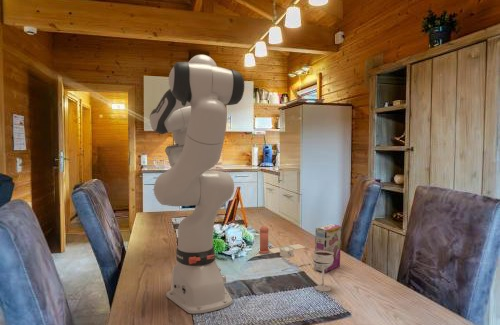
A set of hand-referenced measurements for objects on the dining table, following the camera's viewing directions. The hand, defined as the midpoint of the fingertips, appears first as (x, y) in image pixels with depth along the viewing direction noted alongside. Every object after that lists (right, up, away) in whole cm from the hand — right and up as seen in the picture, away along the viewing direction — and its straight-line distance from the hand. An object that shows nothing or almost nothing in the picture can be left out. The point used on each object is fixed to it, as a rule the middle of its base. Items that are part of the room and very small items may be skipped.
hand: (198, 172), depth 137 cm
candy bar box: (+51, -37, -8) cm, 64 cm away
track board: (+32, -36, +11) cm, 50 cm away
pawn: (+27, -35, +8) cm, 45 cm away
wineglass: (+45, -38, -26) cm, 65 cm away
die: (+37, -37, +4) cm, 52 cm away
